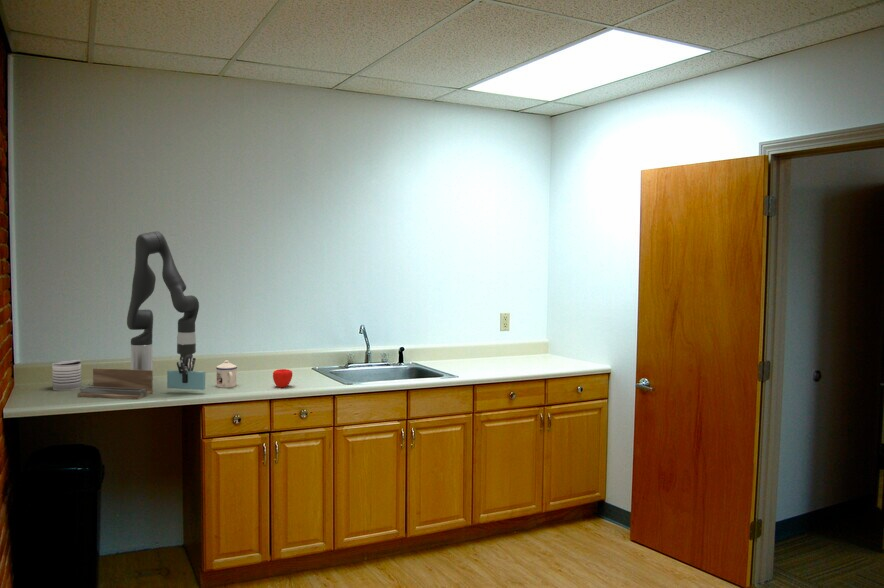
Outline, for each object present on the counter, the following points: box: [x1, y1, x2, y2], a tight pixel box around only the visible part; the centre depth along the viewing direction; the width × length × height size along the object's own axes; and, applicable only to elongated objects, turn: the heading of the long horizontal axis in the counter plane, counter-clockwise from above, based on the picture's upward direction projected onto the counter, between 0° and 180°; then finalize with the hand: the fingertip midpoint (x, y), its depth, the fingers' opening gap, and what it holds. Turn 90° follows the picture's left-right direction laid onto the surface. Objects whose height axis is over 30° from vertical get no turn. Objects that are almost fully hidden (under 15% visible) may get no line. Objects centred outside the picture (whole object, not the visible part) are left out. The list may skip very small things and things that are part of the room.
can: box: [51, 359, 82, 391], centre depth 307 cm, size 11×11×12 cm
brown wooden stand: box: [77, 367, 154, 400], centre depth 294 cm, size 12×26×10 cm, turn 84°
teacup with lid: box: [215, 360, 238, 389], centre depth 318 cm, size 12×9×12 cm
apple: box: [272, 368, 293, 389], centre depth 321 cm, size 9×9×8 cm
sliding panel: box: [166, 369, 206, 391], centre depth 302 cm, size 2×16×8 cm, turn 85°
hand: (186, 382), depth 302 cm, fingers closed on sliding panel, 1 cm apart
